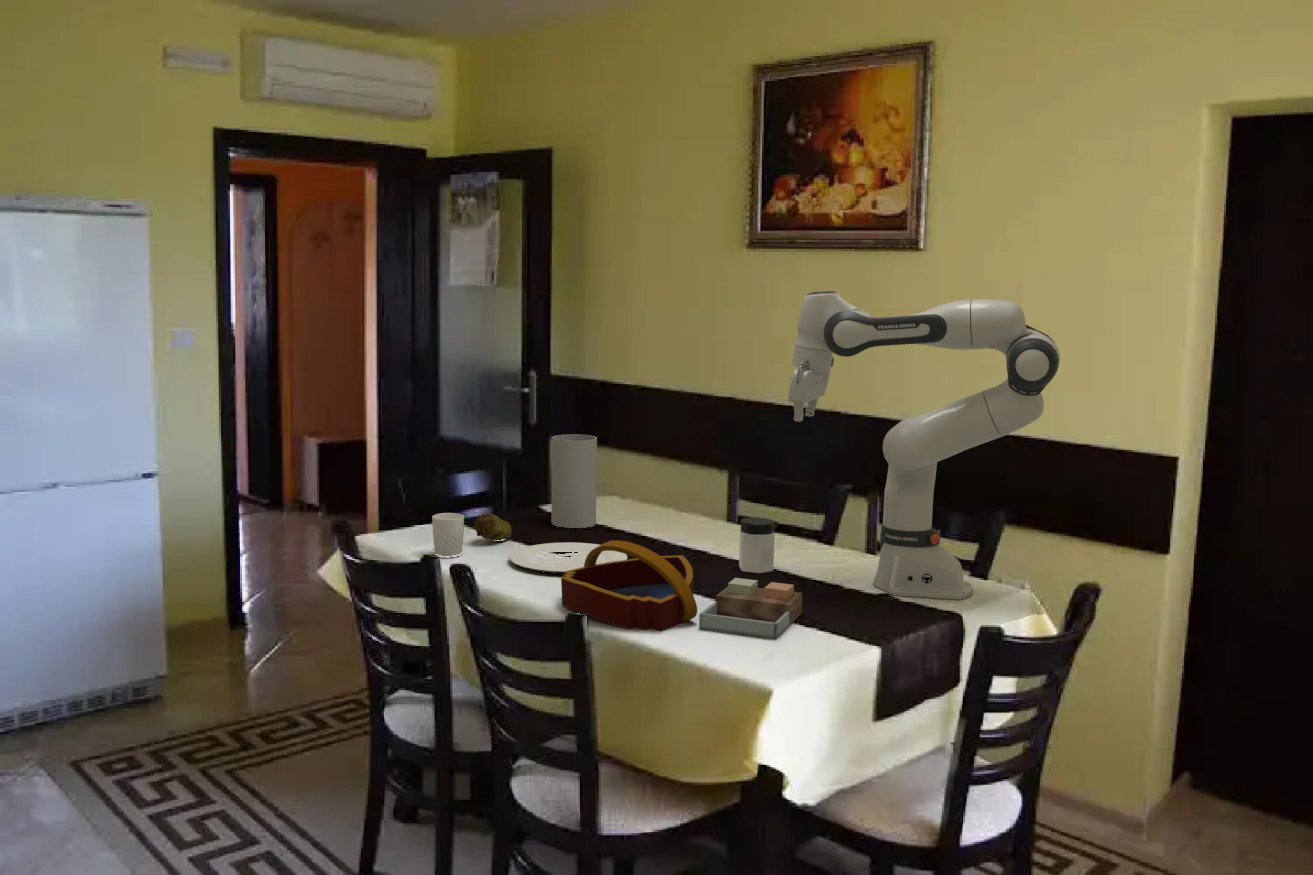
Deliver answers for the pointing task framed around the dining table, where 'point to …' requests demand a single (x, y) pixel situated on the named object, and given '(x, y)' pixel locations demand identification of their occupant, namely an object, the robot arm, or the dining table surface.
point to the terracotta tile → (779, 590)
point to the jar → (756, 545)
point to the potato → (492, 527)
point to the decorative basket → (632, 588)
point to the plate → (573, 562)
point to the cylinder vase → (574, 480)
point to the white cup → (448, 533)
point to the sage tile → (742, 586)
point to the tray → (742, 624)
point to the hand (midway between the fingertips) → (803, 418)
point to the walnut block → (758, 606)
